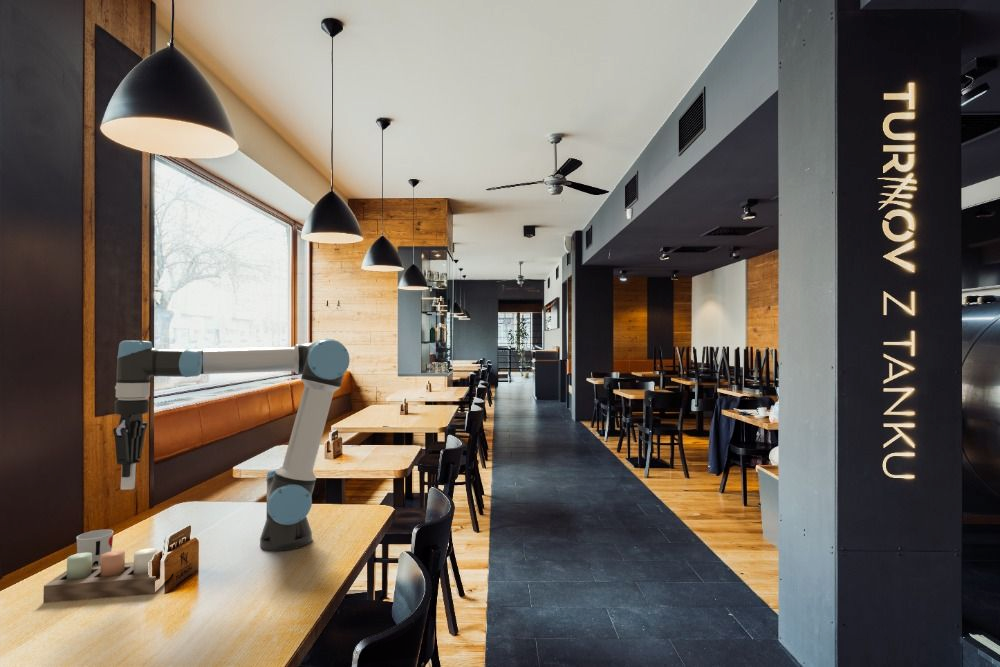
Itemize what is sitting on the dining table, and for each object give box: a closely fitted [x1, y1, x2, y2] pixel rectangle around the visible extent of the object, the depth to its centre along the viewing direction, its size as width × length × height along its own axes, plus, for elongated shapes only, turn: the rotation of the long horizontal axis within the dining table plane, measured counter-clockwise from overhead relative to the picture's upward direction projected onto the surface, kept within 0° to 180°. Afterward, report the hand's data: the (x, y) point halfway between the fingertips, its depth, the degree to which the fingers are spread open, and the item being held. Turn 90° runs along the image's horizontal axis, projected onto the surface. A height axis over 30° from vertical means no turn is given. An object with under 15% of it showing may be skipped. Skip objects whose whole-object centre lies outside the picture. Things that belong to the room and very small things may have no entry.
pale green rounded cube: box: [66, 552, 92, 580], centre depth 137 cm, size 5×5×5 cm
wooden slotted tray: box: [42, 561, 156, 604], centre depth 138 cm, size 24×12×4 cm, turn 101°
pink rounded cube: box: [100, 549, 126, 577], centre depth 139 cm, size 5×5×5 cm
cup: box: [76, 529, 114, 565], centre depth 149 cm, size 8×8×10 cm
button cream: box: [133, 547, 158, 575], centre depth 140 cm, size 5×5×5 cm
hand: (127, 488), depth 143 cm, fingers closed
